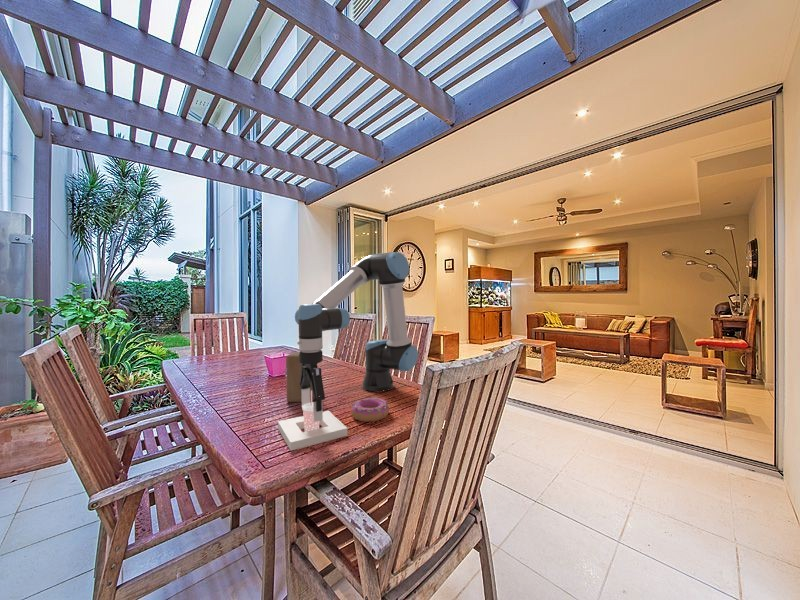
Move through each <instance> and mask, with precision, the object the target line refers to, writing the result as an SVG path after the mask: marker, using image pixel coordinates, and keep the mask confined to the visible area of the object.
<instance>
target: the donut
mask: <svg viewBox="0 0 800 600" xmlns="http://www.w3.org/2000/svg"><path fill="white" fill-rule="evenodd" d="M389 411H390V405H389V402H388V401H387V400H385V399H382V398H379V397H366V398H362V399H359V400H356V401H355V402H353V403H352V405H351V415H352V417H353V418H354V419H355V420H357V421H361V422H365V423H367V422H369V423H370V422H376V421H377V420H378V421H381V420H382V419H384V418H386V417H387V416H388V415H389Z"/></svg>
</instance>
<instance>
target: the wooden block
mask: <svg viewBox="0 0 800 600" xmlns="http://www.w3.org/2000/svg"><path fill="white" fill-rule="evenodd" d="M299 352H300V351H294V352H292V353H289V354H287V356H286V357H285V367H286V368H285V369H286V370H285V371H286V372H285V375H286V378H285V379H286V402H288V403H302V391H301V386H300V384H299V383H300V376H301V369H302V364H301V363H300V362H299ZM308 388H310V401H311V390H312V387H311V383H310V387H308ZM312 399H314V396H313V391H312Z"/></svg>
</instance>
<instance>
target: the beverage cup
mask: <svg viewBox="0 0 800 600" xmlns="http://www.w3.org/2000/svg"><path fill="white" fill-rule="evenodd" d="M312 400H313V398H312V390H311V400H310V403H306V404H304V405H303V406H302V405H301V409H302V413H303V415H302V416H304V432H307V431H311V430H315V429H319V428H320V425H319V421H316V422H314V420H313V402H312Z"/></svg>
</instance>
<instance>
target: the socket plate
mask: <svg viewBox="0 0 800 600" xmlns="http://www.w3.org/2000/svg"><path fill="white" fill-rule="evenodd" d="M319 426H321V427H319V429H315V430H311V431H307V432H305V431H302V429H304V416H303V415H302V416H296V417H292V418H288V419H282V420H278V421H277V430H278V431H279V433H280V435H281V437H282V438H283V440H284V441H285V443H286V445H287V447H288V449H289V451H295V450H299V449H303V448H307V447H310V446H313V445H317V444H321V443H326V442H330V441H333V440H336V439H340V438H344V437H348V427H347V426H346V425H345V424H343V422H341V421H340V420H339V419H338V418H337V417H336V416H335V415H334V414H333V413H332V412H331V411H330V410H324V411H323V420H320V421H319ZM304 430H305V429H304Z"/></svg>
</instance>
